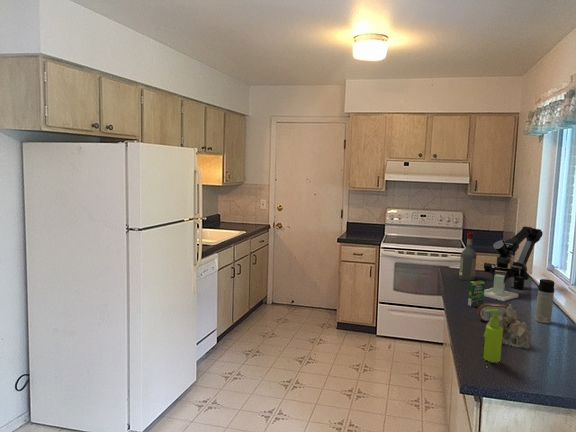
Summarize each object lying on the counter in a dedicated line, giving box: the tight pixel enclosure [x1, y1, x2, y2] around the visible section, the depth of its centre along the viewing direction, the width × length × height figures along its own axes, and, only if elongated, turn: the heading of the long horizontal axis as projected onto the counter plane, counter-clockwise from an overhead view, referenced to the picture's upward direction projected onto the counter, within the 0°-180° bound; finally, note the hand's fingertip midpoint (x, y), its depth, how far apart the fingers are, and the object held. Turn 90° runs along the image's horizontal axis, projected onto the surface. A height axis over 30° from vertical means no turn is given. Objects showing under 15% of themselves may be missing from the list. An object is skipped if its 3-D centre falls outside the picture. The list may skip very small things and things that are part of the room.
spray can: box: [534, 278, 555, 324], centre depth 231 cm, size 7×7×20 cm
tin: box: [476, 302, 508, 322], centre depth 229 cm, size 15×3×8 cm, turn 84°
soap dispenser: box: [483, 309, 503, 362], centre depth 182 cm, size 6×7×20 cm
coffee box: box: [467, 280, 486, 308], centre depth 253 cm, size 8×3×13 cm, turn 107°
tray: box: [484, 287, 519, 302], centre depth 274 cm, size 15×15×2 cm
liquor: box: [458, 232, 477, 282], centre depth 310 cm, size 9×9×30 cm
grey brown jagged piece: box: [483, 303, 532, 348], centre depth 203 cm, size 16×16×15 cm
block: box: [492, 273, 506, 295], centre depth 273 cm, size 5×5×10 cm
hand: (499, 281), depth 272 cm, fingers closed on block, 5 cm apart
